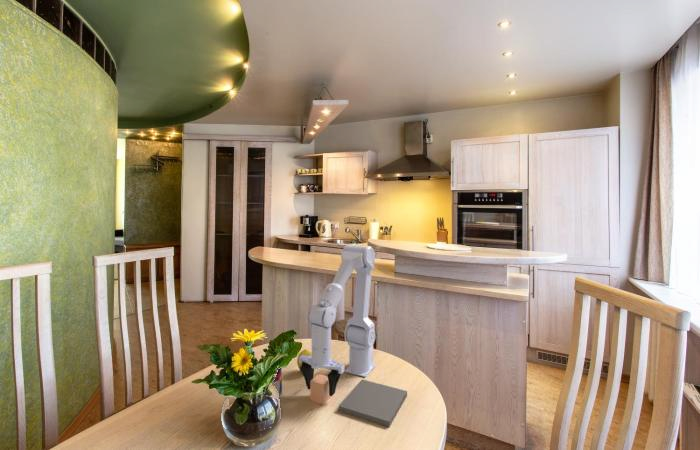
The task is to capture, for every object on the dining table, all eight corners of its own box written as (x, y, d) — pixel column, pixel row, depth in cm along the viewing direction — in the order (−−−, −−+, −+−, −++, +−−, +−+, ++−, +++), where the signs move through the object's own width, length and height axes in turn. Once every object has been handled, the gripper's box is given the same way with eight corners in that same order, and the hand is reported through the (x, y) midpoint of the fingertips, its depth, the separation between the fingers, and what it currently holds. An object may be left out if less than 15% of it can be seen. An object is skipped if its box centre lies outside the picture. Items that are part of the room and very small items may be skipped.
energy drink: (277, 401, 97) (277, 361, 96) (260, 398, 98) (260, 359, 97) (284, 391, 102) (284, 353, 101) (268, 389, 103) (268, 351, 102)
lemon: (316, 371, 115) (316, 348, 114) (306, 377, 110) (306, 354, 109) (304, 366, 117) (304, 344, 117) (293, 373, 113) (293, 350, 112)
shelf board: (361, 383, 106) (361, 379, 106) (407, 395, 100) (407, 391, 100) (338, 411, 92) (338, 405, 92) (389, 427, 86) (389, 421, 85)
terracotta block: (318, 392, 101) (318, 373, 101) (331, 396, 99) (331, 377, 99) (310, 400, 97) (310, 380, 97) (323, 404, 95) (323, 384, 95)
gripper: (293, 346, 97) (292, 391, 98) (336, 356, 90) (335, 404, 91) (306, 338, 103) (306, 380, 104) (347, 347, 97) (347, 392, 97)
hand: (321, 391), depth 98 cm, fingers open, 7 cm apart
